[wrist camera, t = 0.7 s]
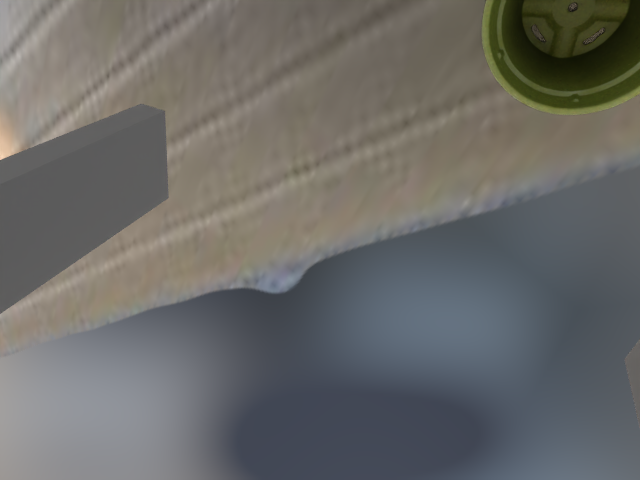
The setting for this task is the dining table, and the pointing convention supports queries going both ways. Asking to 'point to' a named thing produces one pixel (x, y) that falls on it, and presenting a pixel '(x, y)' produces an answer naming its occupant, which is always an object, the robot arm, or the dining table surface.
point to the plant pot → (564, 52)
